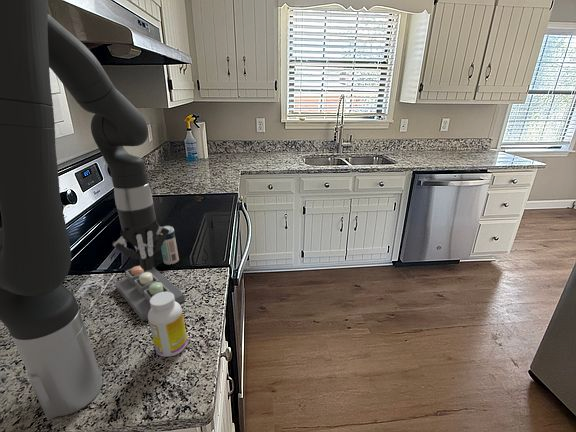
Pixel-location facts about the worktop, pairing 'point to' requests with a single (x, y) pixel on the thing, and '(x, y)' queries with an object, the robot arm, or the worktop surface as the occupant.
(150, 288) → the sage button
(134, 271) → the terracotta button
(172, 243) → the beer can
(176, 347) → the supplement bottle
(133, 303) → the grey boxy piece
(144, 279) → the cream button
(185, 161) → the worktop surface
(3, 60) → the robot arm
